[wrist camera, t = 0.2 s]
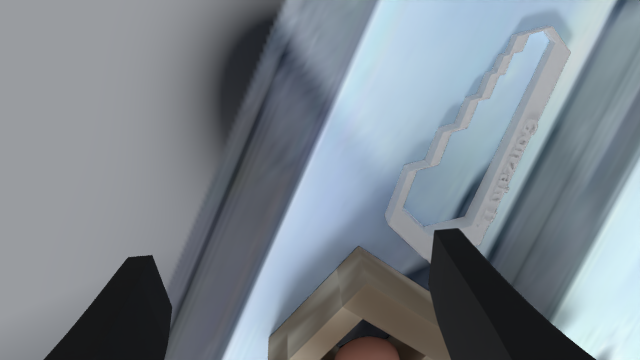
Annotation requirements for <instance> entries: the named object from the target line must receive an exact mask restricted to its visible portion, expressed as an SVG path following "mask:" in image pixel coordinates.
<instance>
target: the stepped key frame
mask: <svg viewBox="0 0 640 360" xmlns="http://www.w3.org/2000/svg"><path fill="white" fill-rule="evenodd" d="M540 31H543V32H544V33H545V34H546V36H547V37H548V39H549V40H550V42H549V44H548V46H547V48H546V50H545V52H544V54H543V56H542V58H541V60H540V62H539V64H538V66H537V68H536V70H535V73H534V75H533V77H532V79H531V81H530V83H529V85H528V87H527V89H526V91H525V93H524V95H523V97H522V99H521V101H520V103H519V105H518V108H517V110H516V112H515V114H514V116H513V118H512V120H511V122H510V124H509V126H508V128H507V130H506V132H505V134H504V136H503V138H502V140H501V143H500V145H499V147H498V149H497V151H496V153H495V155H494V157H493V159H492V161H491V163H490V165H489V167H488V169H487V171H486V173H485V176H484V178H483V180H482V182H481V184H480V186H479V188H478V190H477V192H476V194H475V196H474V198H473V200H472V202H471V204H470V206H469V208H468V211H467V213H466V215H465V217H461V218H456V219H452V220H448V221H444V222H440V223H436V224H432V225H428V226H422V225H421V224H420V223H419V222H418V221H417V220H416V219H415V218H414V217H413V216H412V215H411V214H410V213H409V212H408V211H407V210H406V209H405V208H404V207H403V206H404V203H405V201H406V198H407V196H408V193H409V190H410V188H411V185H412V183H413V180H414V178H415V175H416V172H417V171H418V170H421V169H425V168H429V167H433V166H436V165H439V163H440V160H441V158H442V155H443V153H444V150H445V148H446V145H447V143H448V140H449V138H450V136H451V133H452V132H455V131H459V130H462V129H466V128H468V126H469V123H470V121H471V118H472V116H473V114H474V111H475V109H476V106H477V104H478V102H479V101H481V100H485V99H489V98H490V96H491V94H492V92H493V89H494V87H495V85H496V82H497V80H498V78H499V76H500V75H504V74H505V73H506V70H507V68H508V66H509V63H510V61H511V59H512V56H513V54H514V53H517V52H521V51H523V49H524V46H525V44H526V42H527V39H528V37H529V35H530V34H533V33H536V32H540ZM570 53H571V52H570V50H569V49H568V48H567V46H566V45H565V43H564V42H563V40H562V39H561V38H560V36H559V35H558V33H557V32H556V31H555V29H554V28H553V26H548V25H546V26H543V27H539V28H535V29H532V30H528V31H524V32H520V33H517V34H513V35H512V37H511V39H510V41H509V43H508V46H507V48H506V50H505V52H504V53H501V54H499V55H498V57H497V59H496V61H495V64H494V66H493V68H492V70H491V71H487V72H486V73H485V75H484V77H483V80H482V82H481V84H480V86H479V89H478V91H477V93H476V94H474V95H470V96H467V97H465V99H464V101H463V103H462V106H461V108H460V110H459V113H458V115H457V117H456V120H455V122H454V123H452V124H449V125H445V126H441V127H438V129H437V131H436V133H435V136H434V138H433V141H432V143H431V145H430V148H429V150H428V153H427V155H426V157H425V160H421V161H417V162H413V163H409V164H405V165H404V167H403V169H402V172H401V174H400V177H399V179H398V182H397V184H396V187H395V189H394V192H393V194H392V197H391V199H390V202H389V204H388V207H387V209H386V212H385V214H384V216H385V218H386V221H387V223H388V225H389V226H390V227H391V228H392V229H393V230H394V231H395V232H396V233H397V234H398V235H399V236H400V237H402V238H403V239H404V240H405V241H406V242H407V243H408V244H409V245H410V246H411V247H412V248H413V249H414V250H415V251H416V252H418V253H419V254H420V255H421V256H422V257H423V258H424V259H427V260H428V262H429V263H430V264H431V255H432V246H433V236H434V230H441V229H452V228H459V229H460V230H461V231H462V232H463V233H464V234H465V236H466V237H467V238H468V239H469V240H470V241H471V243H472V244H473V245H474V246H477V245H480V243H481V241H482V239H483V237H484V235H485V233H486V231H487V229H488V226H489V224H490V223H491V222H492V221H493V220H494V218H495V216H496V214H497V212H496V210H497V207H498V205H499V203H500V201H501V199H502V197H503V195H504V193H507V192H508V190H509V187H508V184H509V182H510V180H511V178H512V176H513V174H514V172H515V169H516V167H517V165H518V163H519V161H520V159H521V157H522V155H523V153H524V150H525V148H526V146H527V144H528V142H529V140H530V138H531V136H532V135H533V134H534V133H535V132H536V130H537V127H538V121H539V119H540V117H541V115H542V113H543V110H544V108H545V106H546V104H547V102H548V100H549V98H550V96H551V94H552V91H553V89H554V87H555V85H556V83H557V81H558V79H559V77H560V75H561V72H562V70H563V68H564V66H565V64H566V62H567V60H568V58H569V56H570Z"/></svg>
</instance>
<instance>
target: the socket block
mask: <svg viewBox="0 0 640 360" xmlns="http://www.w3.org/2000/svg"><path fill="white" fill-rule="evenodd" d="M362 319H364V320H366V321H367V322H369V323H371V324H373V325H374V326H376V327H378V328H379V329H381V330H383V331H385V332H386V333H388V334H390V336H389V337H388V338H387V339H386V340H387V341H389V342H391V343H392V344H393V345H394V346H395V347H396V349H397V351H398V354H399V358H400V360H451V358H450V355H449V353H448V350H447V347H446V345H445V342H444V339H443V336H442V333H441V331H440V328H439V325H438V322H437V319H436V315H435V311H434V307H433V302H432V298H431V294H430V292H429V291H427V290H426V289H424V288H423V287H421V286H420V285H418V284H417V283H415V282H413V281H412V280H410V279H409V278H407V277H406V276H404V275H403V274H401V273H400V272H398V271H396V270H395V269H393V268H392V267H390V266H389V265H387V264H386V263H384V262H383V261H381V260H379V259H378V258H376V257H375V256H373V255H372V254H370V253H369V252H367V251H366V250H364V249H362V248H361V247H359V246H358V247H357V248H356V249H355V250H354V251H353V252H352V253H351V254H350V255H349V256H348V257H347V258H346V259H345V260H344V261H343V262H342V263H341V264H340V265H339V266H338V268H337V269H336V270H335V271H334V272H333V273H332V274H331V275H330V276H329V277H328V278H327V279H326V280H325V281H324V282H323V283H322V284H321V285H320V286H319V287H318V288H317V289H316V290H315V291H314V292H313V293H312V294H311V295H310V296H309V297H308V298H307V299H306V300H305V302H304V303H303V304H302V305H301V306H300V307H299V308H298V309H297V310H296V311H295V312H294V313H293V314H292V315H291V316H290V317H289V318H288V319H287V320H286V321H285V322H284V323H283V324H282V325H281V326H280V327H279V328H278V329H277V330H276V331H275V332H274V333H273V334H272V336H271V337H270V338H269V344H268V360H334V359H335V356H336V354H337V352H338V350H339V349H340V347H338V346H336V344H337V343H338V342H339V341H340V340H341V339H342V338H343V337H344V336H345V335H346V334H347V333H348V332H350V331H351V330H352V329H353V328H354V327H355V326H356V325H357V324H358V323H359V322H360V321H361V320H362Z"/></svg>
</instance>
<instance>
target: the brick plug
mask: <svg viewBox="0 0 640 360" xmlns="http://www.w3.org/2000/svg"><path fill="white" fill-rule="evenodd" d="M334 360H400V358H399V354H398V351H397V349H396V347H395V346H394V345H393V344H392V343H391V342H389V341H387V340H385V339H383V338H379V337H371V336H368V337H360V338H357V339H354V340H351V341H349V342H348V343H346V344H345V345H343V346H342V347H341V348H340V349H339V350H338V352H337V354H336V356H335V359H334Z"/></svg>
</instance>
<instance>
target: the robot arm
mask: <svg viewBox="0 0 640 360" xmlns="http://www.w3.org/2000/svg"><path fill="white" fill-rule="evenodd" d="M428 285H429V289H430V294H431V298H432V302H433V307H434V311H435V315H436V319H437V322H438V325H439V328H440V331H441V333H442V336H443V339H444V342H445V345H446V347H447V350H448V353H449V355H450V358H451V360H596V359H595V358H593V357H592V356H591V355H589V354H588V353H587V352H585V351H584V350H583V349H582V348H580V347H579V346H578V345H577V344H575V343H574V342H573V341H572V340H570V339H569V338H568V337H567V336H565V335H564V334H563V333H562V332H561V331H560V330H558V329H557V328H556V327H555V326H554V325H553V324H551V323H550V322H549V321H548V320H547V319H546V318H545V317H544V316H543V315H541V314H540V313H539V312H538V311H537V310H536V309H535V308H534V307H533V306H532V305H531V304H530V303H528V302H527V301H526V300H525V299H524V298H523V297H522V296H521V295H520V294H519V293H518V292H517V291H516V290H515V289H514V288H513V287H512V286H511V285H510V284H509V283H508V282H507V281H506V280H505V279H504V278H503V277H502V276H501V275H500V273H499V272H498V271H497V270H496V269H495V268H494V267H493V266H492V265H491V264H490V263H489V262H488V261H487V259H486V258H485V257H484V256H483V255H482V254H481V253H480V252H479V251H478V249H477V248H476V247H475V246H474V245H473V244H472V243H471V241H470V240H469V239H468V238H467V237H466V236H465V234H464V233H463V232H462V231H461V230H460V229H459V228H452V229H441V230H434V236H433V246H432V255H431V264H430V274H429V283H428ZM171 313H172V306H171V303H170V300H169V298H168V295H167V293H166V290H165V287H164V285H163V282H162V279H161V277H160V274H159V272H158V269H157V266H156V264H155V261H154V259H153V256H152V255H148V256H137V257H128V258H127V259H126V260H125V262H124V263H123V264H122V266H121V267H120V268H119V269H118V270H117V272H116V273H115V274H114V276H113V277H112V278H111V280H110V281H109V282H108V283H107V285H106V286H105V287H104V289H103V290H102V291H101V292H100V294H99V295H98V296H97V297H96V299H95V300H94V301H93V302H92V304H91V305H90V306H89V307H88V309H87V310H86V311H85V312H84V314H83V315H82V316H81V317H80V318H79V320H78V321H77V322H76V323H75V325H74V326H73V327H72V328H71V329H70V330H69V332H68V333H67V334H66V335H65V336H64V337H63V339H62V340H61V341H60V342H59V343H58V344H57V345H56V347H55V348H54V349H53V350H52V351H51V352H50V353H49V354H48V355H47V357H46V358H45V359H44V360H164V358H165V354H166V350H167V345H168V338H169V331H170V322H171Z"/></svg>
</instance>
